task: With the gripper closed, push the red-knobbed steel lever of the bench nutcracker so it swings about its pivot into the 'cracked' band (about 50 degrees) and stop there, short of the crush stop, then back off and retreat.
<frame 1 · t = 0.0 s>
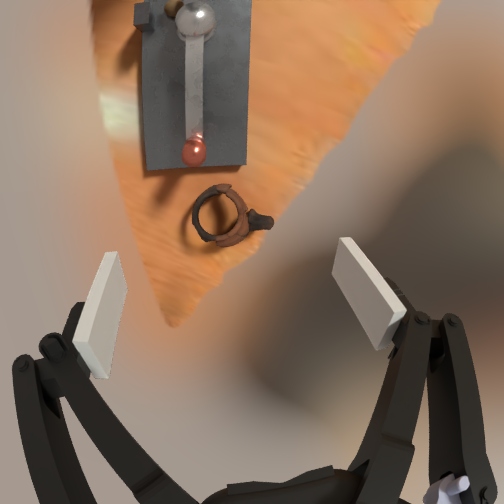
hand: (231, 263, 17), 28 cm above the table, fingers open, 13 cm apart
lever: (194, 66, 27), point 7 cm above the table, hinge at 0.0°
walnut: (176, 13, 28), resting on base board
base board: (195, 78, 34), on the table
pottery mug: (230, 210, 46), on the table
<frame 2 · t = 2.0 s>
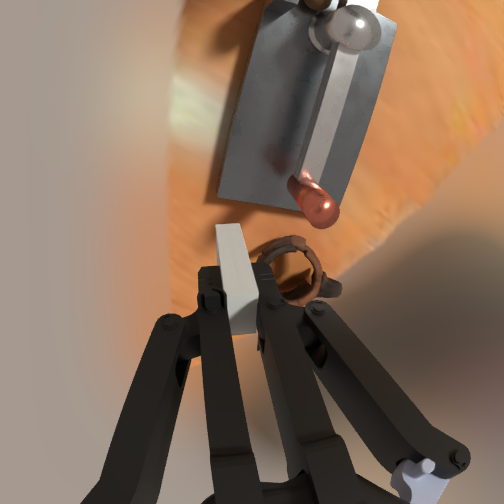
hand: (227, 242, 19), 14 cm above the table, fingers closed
lever: (339, 88, 20), point 7 cm above the table, hinge at 0.0°
walnut: (306, 5, 21), resting on base board
base board: (307, 96, 27), on the table
pottery mug: (291, 263, 39), on the table
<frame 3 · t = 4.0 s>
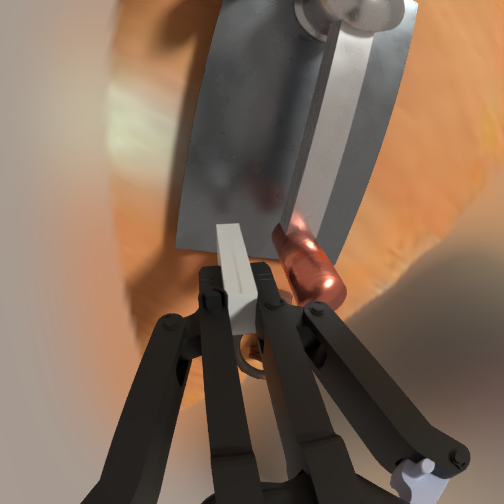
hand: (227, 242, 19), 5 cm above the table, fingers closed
lever: (345, 91, 13), point 7 cm above the table, hinge at 1.7°, touching gripper
base board: (296, 102, 19), on the table
pottery mug: (276, 319, 32), on the table
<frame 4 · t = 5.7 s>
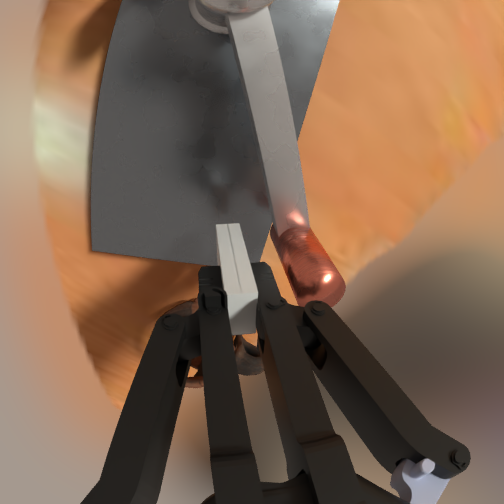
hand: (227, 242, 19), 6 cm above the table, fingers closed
lever: (266, 82, 12), point 7 cm above the table, hinge at 26.8°, touching gripper
base board: (201, 100, 18), on the table
pottery mug: (207, 326, 31), on the table
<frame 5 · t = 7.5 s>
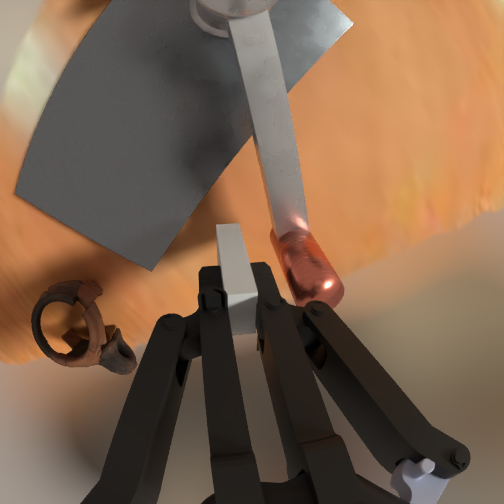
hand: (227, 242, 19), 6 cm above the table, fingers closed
lever: (266, 86, 12), point 7 cm above the table, hinge at 51.0°, touching gripper
base board: (162, 89, 17), on the table
pottery mug: (92, 311, 28), on the table
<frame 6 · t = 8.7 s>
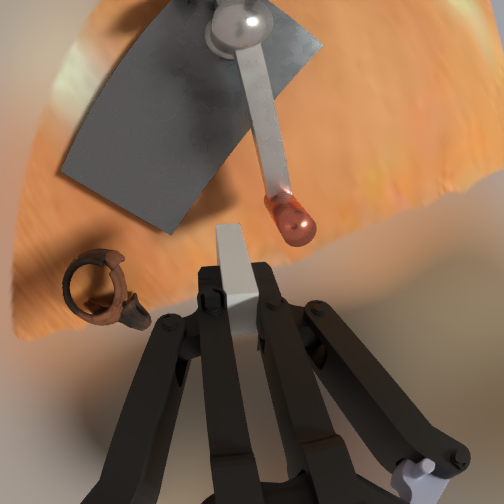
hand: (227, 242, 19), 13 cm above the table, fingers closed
lever: (260, 94, 20), point 7 cm above the table, hinge at 51.1°
base board: (183, 95, 24), on the table
pottery mug: (113, 280, 34), on the table
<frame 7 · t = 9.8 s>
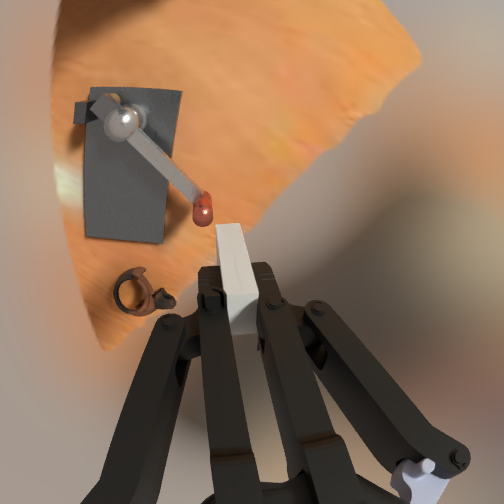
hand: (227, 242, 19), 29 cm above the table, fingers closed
lever: (152, 155, 35), point 7 cm above the table, hinge at 51.1°
walnut: (117, 100, 36), resting on base board
base board: (128, 165, 41), on the table
pottery mug: (147, 285, 54), on the table
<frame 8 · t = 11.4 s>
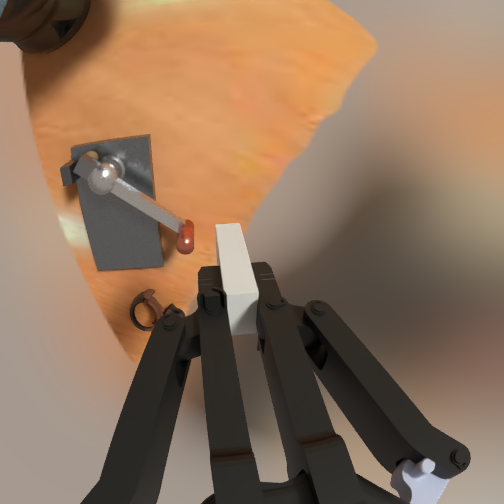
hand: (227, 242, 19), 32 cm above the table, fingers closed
lever: (134, 200, 41), point 7 cm above the table, hinge at 51.1°
walnut: (97, 153, 42), resting on base board
base board: (119, 206, 48), on the table
pottery mug: (159, 303, 63), on the table
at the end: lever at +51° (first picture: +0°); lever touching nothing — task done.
